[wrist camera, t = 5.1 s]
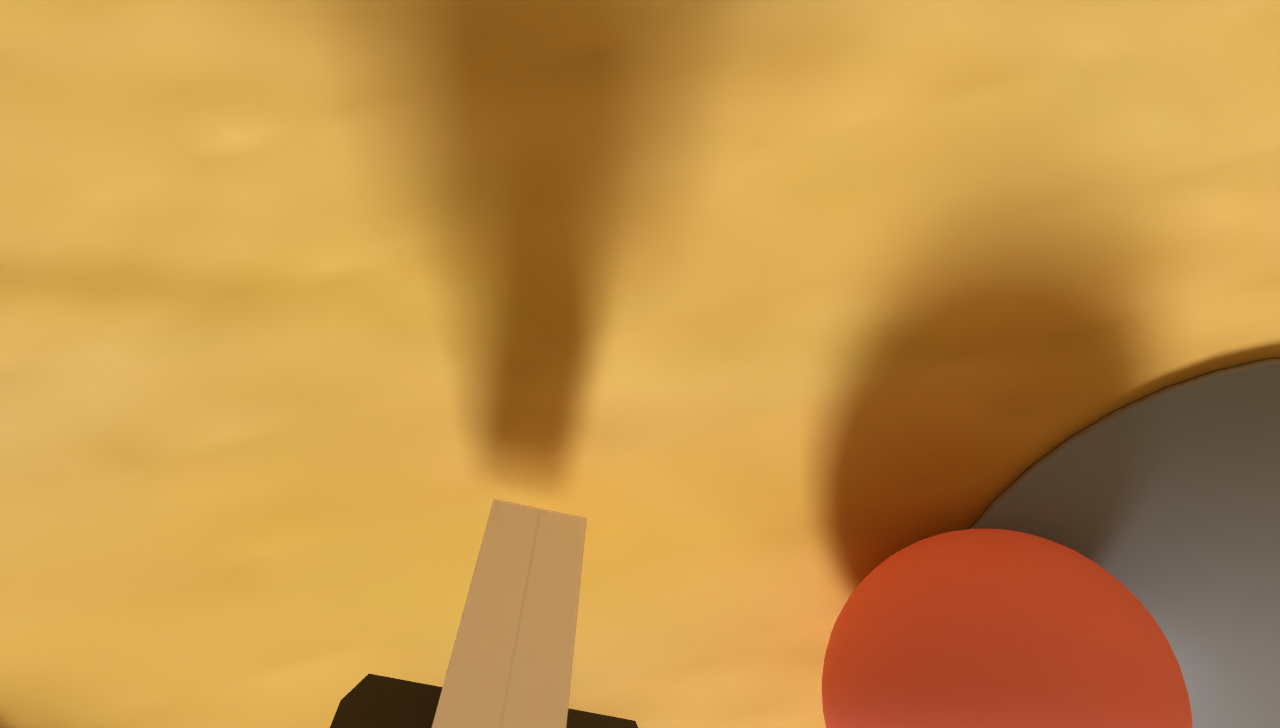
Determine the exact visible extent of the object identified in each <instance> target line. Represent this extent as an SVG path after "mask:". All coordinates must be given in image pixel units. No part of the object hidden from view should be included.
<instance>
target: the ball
mask: <svg viewBox="0 0 1280 728" xmlns="http://www.w3.org/2000/svg"><path fill="white" fill-rule="evenodd" d="M822 702H823V713H824V719H825V724H826V728H1193V723H1192V713H1191V707H1190V701H1189V695H1188V691H1187V688H1186V685H1185V681H1184V678H1183V675H1182V672H1181V668H1180V666H1179V663H1178V661H1177V659H1176V657H1175V655H1174V652H1173V650H1172V648H1171V646H1170V644H1169V641H1168V640H1167V638H1166V637H1165V635H1164V633H1163V632H1162V630H1161V629H1160V627H1159V625H1158V624H1157V622H1156V621H1155V619H1154V618H1153V617H1152V615H1151V614H1150V613H1149V612H1148V610H1147V609H1146V608H1145V607H1144V606H1143V604H1142V603H1141V602H1140V601H1139V599H1138V598H1136V597H1135V596H1134V595H1133V594H1132V593H1131V592H1130V591H1129V590H1128V589H1127V588H1126V587H1125V586H1124V585H1123V584H1122V583H1121V582H1120V581H1119V580H1118V579H1117V578H1116V577H1114V576H1113V575H1112V574H1110V573H1109V572H1108V571H1106V570H1105V569H1104V568H1102V567H1101V566H1100V565H1098V564H1097V563H1096V562H1094V561H1092V560H1090V559H1089V558H1087V557H1085V556H1084V555H1082V554H1080V553H1078V552H1077V551H1075V550H1073V549H1070V548H1068V547H1065V546H1063V545H1061V544H1058V543H1056V542H1054V541H1051V540H1048V539H1045V538H1042V537H1038V536H1035V535H1031V534H1028V533H1024V532H1018V531H1011V530H1004V529H966V530H958V531H951V532H946V533H942V534H939V535H935V536H932V537H929V538H926V539H923V540H920V541H918V542H916V543H914V544H911V545H909V546H907V547H905V548H903V549H901V550H900V551H898V552H896V553H895V554H893V555H891V556H890V557H889V558H887V559H886V560H884V561H883V562H882V563H881V564H880V565H878V566H877V567H876V568H875V569H874V570H873V571H872V572H871V573H870V574H868V575H867V576H866V577H865V578H864V580H863V581H862V582H861V583H860V584H859V585H858V586H857V588H856V589H855V590H854V592H853V593H852V594H851V596H850V597H849V599H848V600H847V602H846V604H845V605H844V607H843V609H842V611H841V613H840V614H839V616H838V618H837V620H836V622H835V625H834V627H833V630H832V633H831V636H830V640H829V643H828V647H827V650H826V654H825V659H824V667H823V677H822Z"/></svg>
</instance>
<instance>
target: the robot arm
mask: <svg viewBox="0 0 1280 728" xmlns="http://www.w3.org/2000/svg"><path fill="white" fill-rule="evenodd" d="M586 521H587V518H583V517H578V516H573V515H568V514H563V513H558V512H554V511H549V510H544V509H539V508H534V507H529V506H525V505H520V504H515V503H510V502H505V501H500V500H496V499H494V500H493V504H492V507H491V511H490V515H489V518H488V522H487V526H486V529H485V533H484V537H483V540H482V544H481V548H480V552H479V555H478V559H477V563H476V566H475V570H474V574H473V577H472V581H471V585H470V588H469V592H468V596H467V599H466V603H465V607H464V610H463V614H462V618H461V622H460V625H459V629H458V633H457V636H456V640H455V644H454V647H453V651H452V655H451V658H450V662H449V666H448V669H447V673H446V677H445V681H444V684H443V687H437V686H432V685H427V684H421V683H416V682H410V681H405V680H400V679H394V678H389V677H384V676H378V675H373V674H368V675H367V676H366V677H365V678H364V679H363V680H362V681H361V682H360V683H359V684H358V685H357V686H356V687H354V688H353V689H352V690H351V691H350V692H349V693H348V694H347V695H346V696H345V697H344V698H343V699H342V700H341V701H340V704H339V706H338V709H337V711H336V714H335V716H334V719H333V721H332V724H331V726H330V728H638V726H637V724H636V722H635V721H632V720H627V719H622V718H616V717H611V716H606V715H600V714H595V713H590V712H584V711H579V710H574V709H568V705H569V694H570V684H571V674H572V664H573V654H574V643H575V633H576V623H577V613H578V603H579V592H580V582H581V572H582V562H583V551H584V541H585V531H586Z"/></svg>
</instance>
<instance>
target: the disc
mask: <svg viewBox="0 0 1280 728" xmlns="http://www.w3.org/2000/svg"><path fill="white" fill-rule="evenodd" d="M970 529H1004V530H1011V531H1018V532H1024V533H1028V534H1031V535H1035V536H1038V537H1042V538H1045V539H1048V540H1051V541H1054V542H1056V543H1058V544H1061V545H1063V546H1065V547H1068V548H1070V549H1073V550H1075V551H1077V552H1078V553H1080V554H1082V555H1084V556H1085V557H1087V558H1089V559H1090V560H1092V561H1094V562H1096V563H1097V564H1098V565H1100V566H1101V567H1102V568H1104V569H1105V570H1106V571H1108V572H1109V573H1110V574H1112V575H1113V576H1114V577H1116V578H1117V579H1118V580H1119V581H1120V582H1121V583H1122V584H1123V585H1124V586H1125V587H1126V588H1127V589H1128V590H1129V591H1130V592H1131V593H1132V594H1133V595H1134V596H1135V597H1136V598H1138V599H1139V601H1140V602H1141V603H1142V604H1143V606H1144V607H1145V608H1146V609H1147V610H1148V612H1149V613H1150V614H1151V615H1152V617H1153V618H1154V619H1155V621H1156V622H1157V624H1158V625H1159V627H1160V629H1161V630H1162V632H1163V633H1164V635H1165V637H1166V638H1167V640H1168V641H1169V644H1170V646H1171V648H1172V650H1173V652H1174V655H1175V657H1176V659H1177V661H1178V663H1179V666H1180V668H1181V672H1182V675H1183V678H1184V681H1185V685H1186V688H1187V691H1188V695H1189V701H1190V707H1191V713H1192V723H1193V728H1280V358H1273V359H1265V360H1261V361H1257V362H1252V363H1248V364H1244V365H1239V366H1235V367H1230V368H1226V369H1222V370H1217V371H1213V372H1211V373H1208V374H1205V375H1202V376H1199V377H1196V378H1193V379H1190V380H1187V381H1184V382H1181V383H1178V384H1175V385H1172V386H1170V387H1167V388H1164V389H1161V390H1159V391H1157V392H1155V393H1153V394H1151V395H1148V396H1146V397H1144V398H1142V399H1140V400H1138V401H1135V402H1133V403H1131V404H1129V405H1127V406H1125V407H1122V408H1120V409H1118V410H1116V411H1114V412H1112V413H1111V414H1109V415H1107V416H1106V417H1104V418H1102V419H1100V420H1099V421H1097V422H1095V423H1094V424H1092V425H1090V426H1089V427H1087V428H1085V429H1084V430H1082V431H1080V432H1079V433H1077V434H1075V435H1073V436H1072V437H1070V438H1069V439H1067V440H1066V441H1065V442H1063V443H1062V444H1061V445H1059V446H1058V447H1057V448H1055V449H1054V450H1053V451H1051V452H1050V453H1049V454H1047V455H1046V456H1045V457H1043V458H1042V459H1040V460H1039V461H1038V462H1036V463H1035V464H1034V465H1032V466H1031V467H1030V468H1029V469H1028V470H1026V471H1025V472H1024V473H1023V474H1022V475H1021V476H1020V477H1019V478H1018V479H1017V480H1016V481H1015V482H1014V483H1012V484H1011V485H1010V486H1009V487H1008V488H1007V489H1006V490H1005V491H1004V492H1003V493H1002V494H1001V495H1000V496H998V497H997V498H996V499H995V500H994V501H993V502H992V504H991V505H990V506H989V507H988V508H987V509H986V511H985V512H984V513H983V514H982V515H981V517H980V518H979V519H978V520H977V521H976V522H975V524H974V525H973V526H972V527H971V528H970Z"/></svg>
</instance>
